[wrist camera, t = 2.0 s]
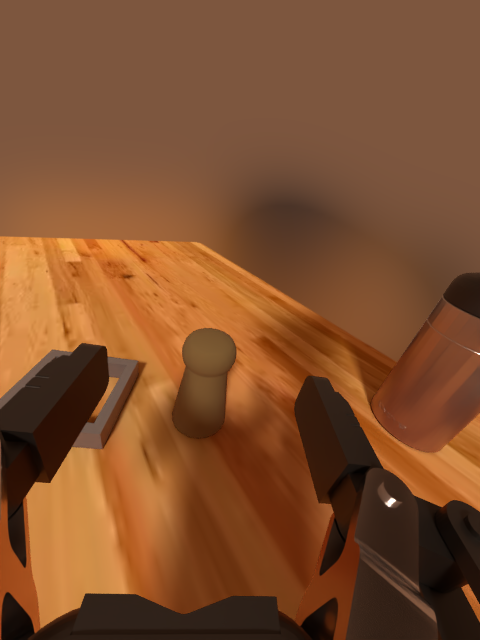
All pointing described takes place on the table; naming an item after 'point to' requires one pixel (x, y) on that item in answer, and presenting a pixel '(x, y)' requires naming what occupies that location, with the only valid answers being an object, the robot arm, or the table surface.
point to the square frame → (101, 428)
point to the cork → (204, 382)
